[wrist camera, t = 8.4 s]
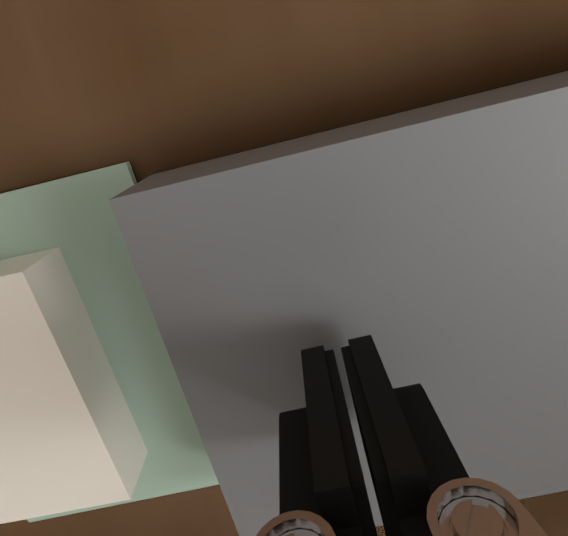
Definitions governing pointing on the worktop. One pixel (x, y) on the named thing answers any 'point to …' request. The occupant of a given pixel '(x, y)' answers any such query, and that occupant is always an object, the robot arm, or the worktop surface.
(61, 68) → the worktop surface
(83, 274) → the mat
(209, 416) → the plate
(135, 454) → the tile
